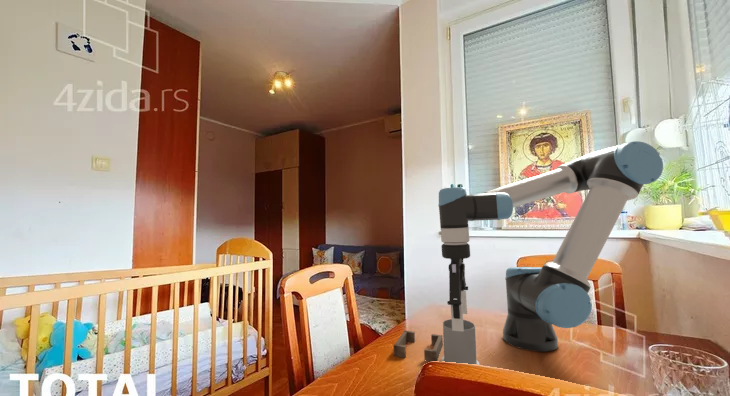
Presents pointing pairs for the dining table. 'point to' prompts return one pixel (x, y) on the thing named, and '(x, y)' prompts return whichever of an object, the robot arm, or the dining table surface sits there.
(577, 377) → the dining table surface
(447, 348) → the cup
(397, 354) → the pocket holder
